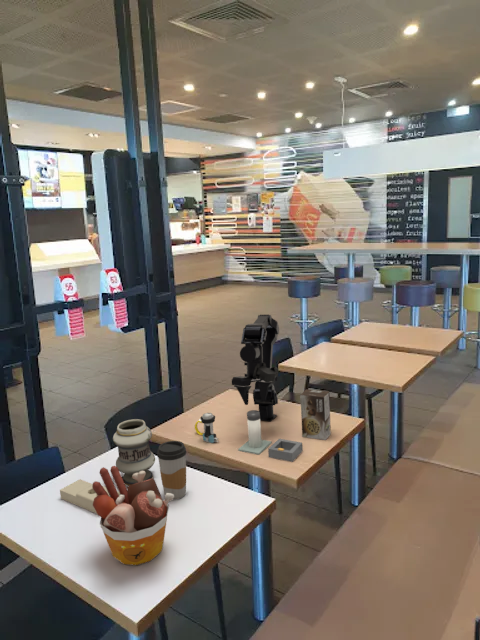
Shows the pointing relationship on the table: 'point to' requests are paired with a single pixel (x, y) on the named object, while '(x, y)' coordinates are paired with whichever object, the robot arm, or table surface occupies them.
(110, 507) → the bucket of meat
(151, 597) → the table surface
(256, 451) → the rubber mat
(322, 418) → the coffee box
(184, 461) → the coffee cup
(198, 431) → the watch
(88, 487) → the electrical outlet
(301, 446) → the grey square holder
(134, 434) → the apothecary jar
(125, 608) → the table surface
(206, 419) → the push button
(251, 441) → the white capped cylinder
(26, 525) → the table surface
